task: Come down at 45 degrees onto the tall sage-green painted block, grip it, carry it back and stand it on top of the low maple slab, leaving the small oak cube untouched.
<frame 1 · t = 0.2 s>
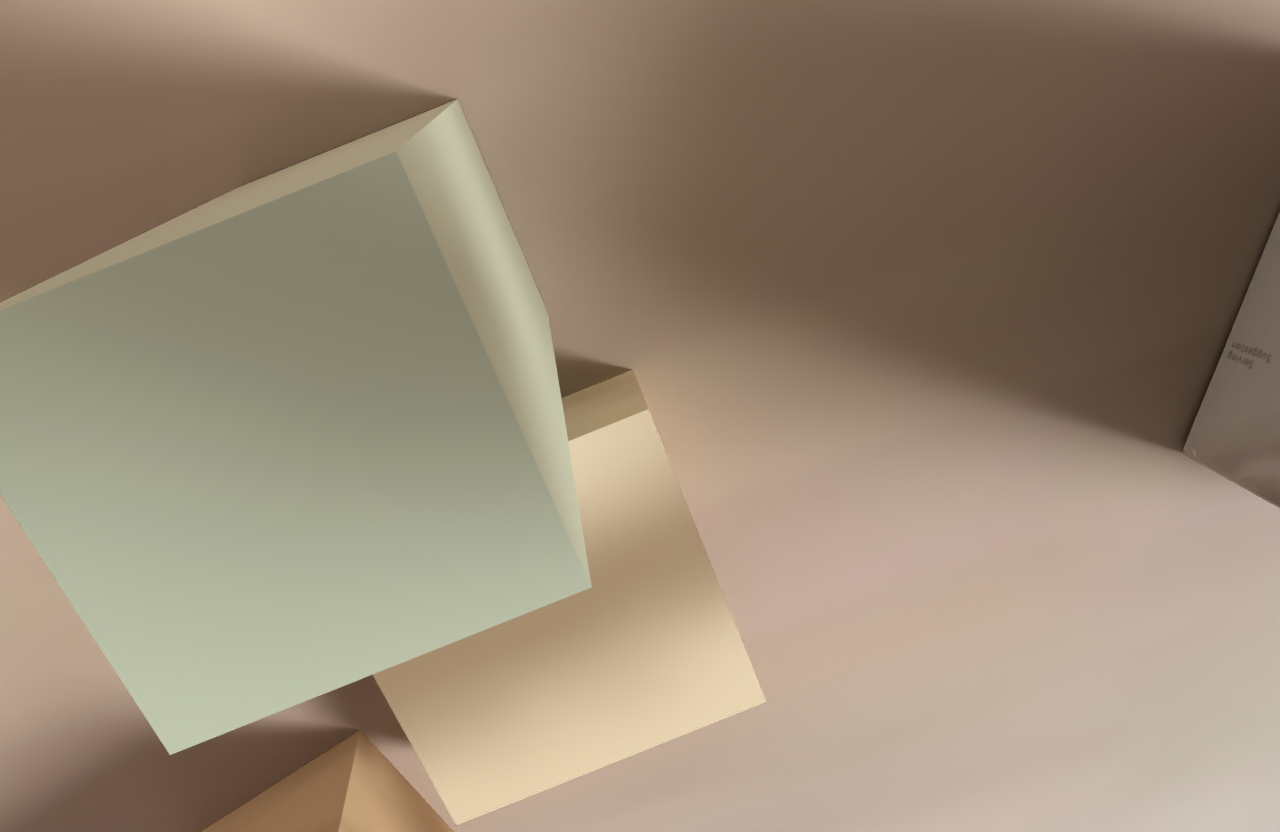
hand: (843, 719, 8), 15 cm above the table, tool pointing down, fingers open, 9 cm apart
maple slab: (542, 561, 24), on the table
sage block: (398, 252, 21), on the table
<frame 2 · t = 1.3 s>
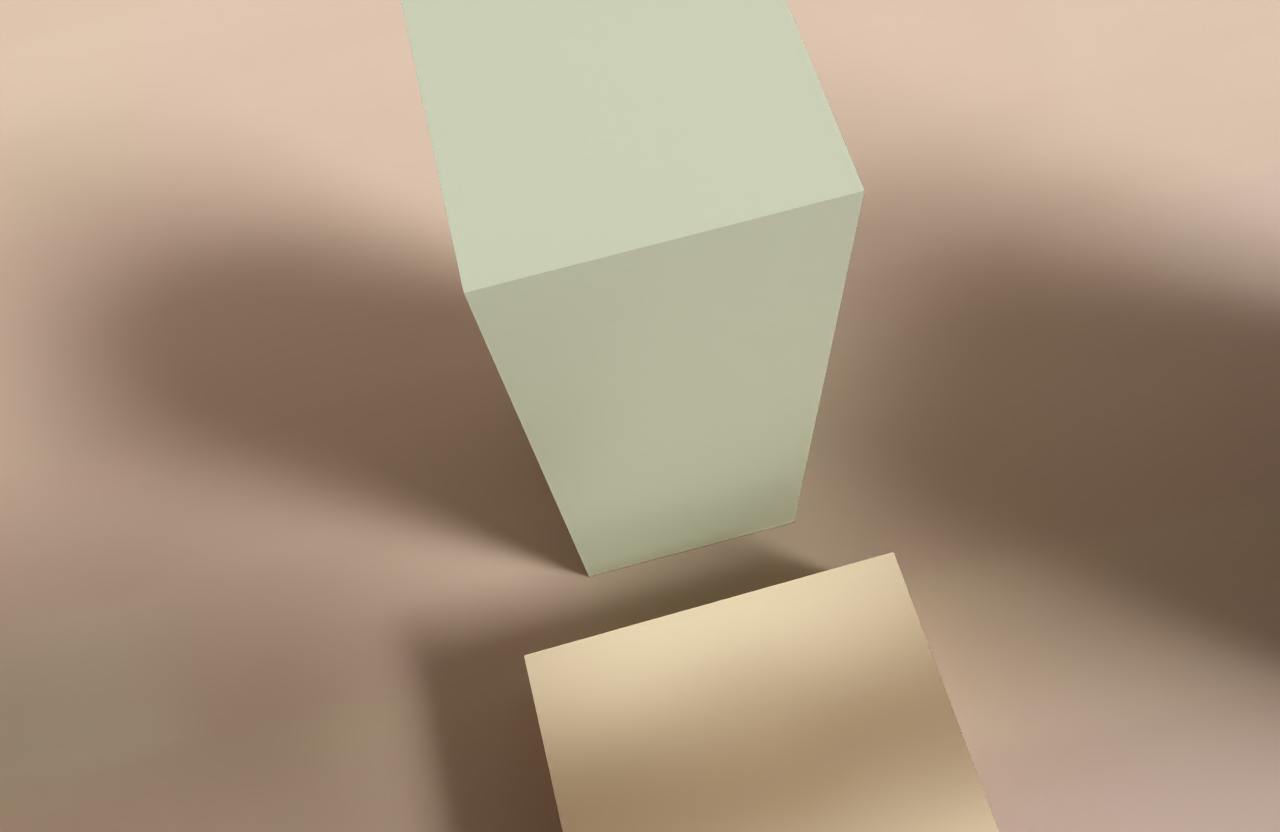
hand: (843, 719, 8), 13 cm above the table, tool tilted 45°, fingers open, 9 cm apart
maple slab: (762, 809, 21), on the table
sage block: (664, 453, 23), on the table
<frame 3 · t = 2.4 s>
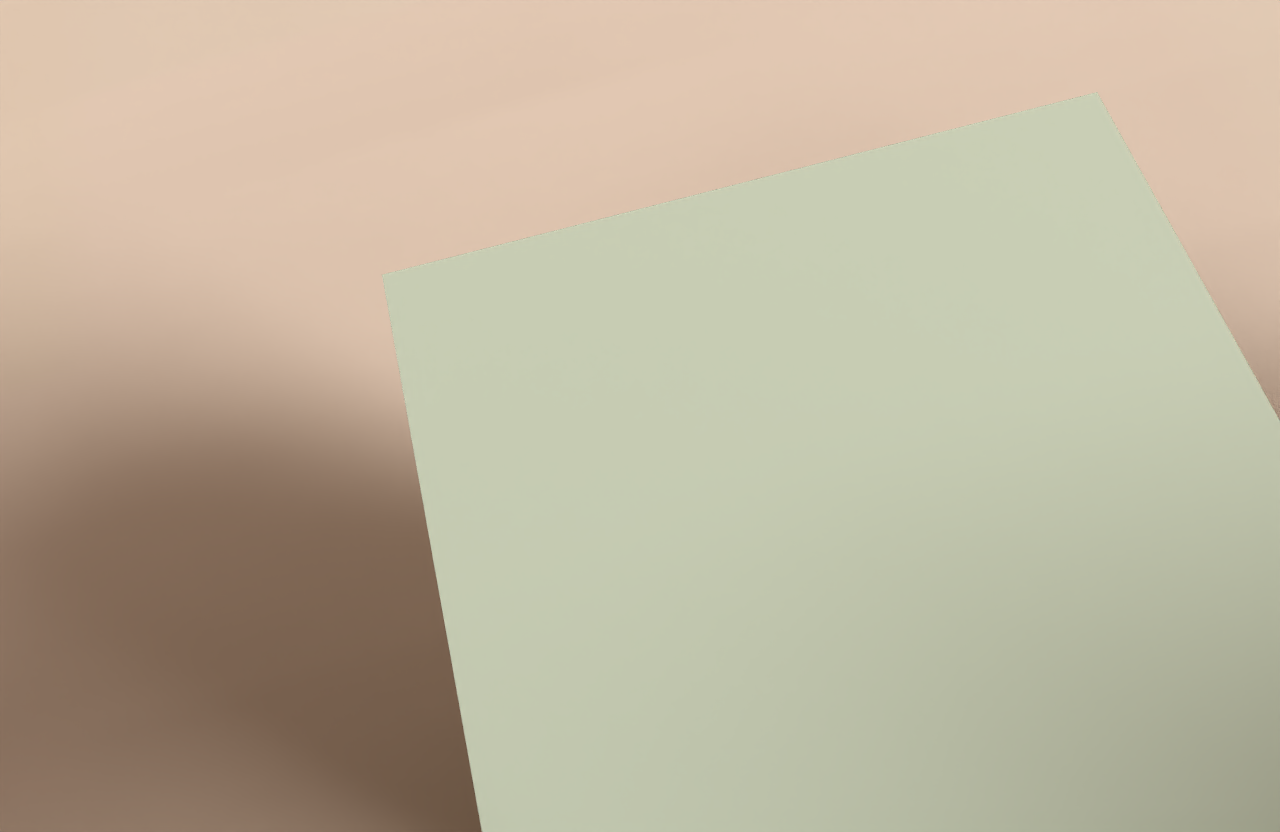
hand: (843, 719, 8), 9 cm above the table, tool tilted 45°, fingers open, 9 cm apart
sage block: (772, 764, 17), on the table
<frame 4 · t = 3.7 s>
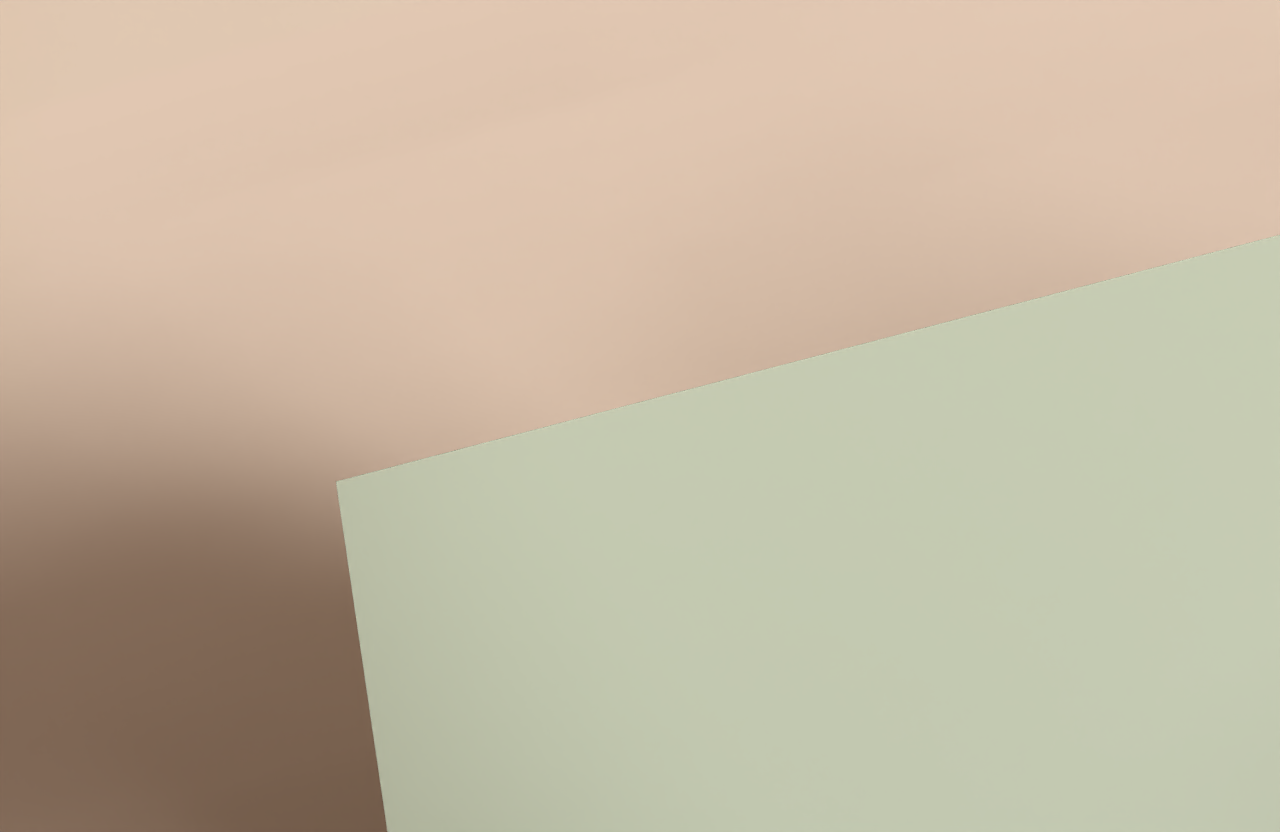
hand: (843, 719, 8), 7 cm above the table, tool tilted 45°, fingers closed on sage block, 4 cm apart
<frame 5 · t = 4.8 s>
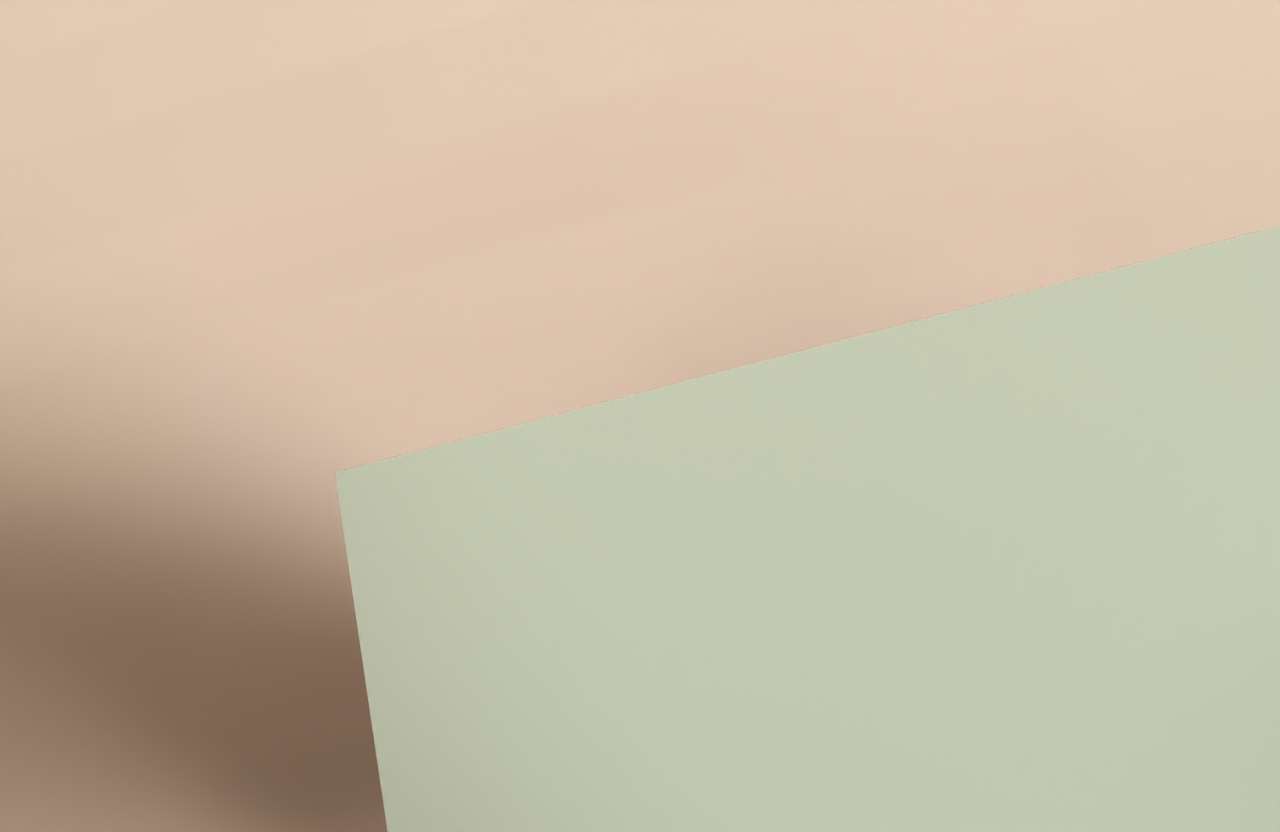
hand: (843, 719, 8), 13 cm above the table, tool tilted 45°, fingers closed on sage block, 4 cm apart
when the fingers open (11 cm above the table, at t = 6.2 s): sage block drops 1 cm, resting on maple slab.
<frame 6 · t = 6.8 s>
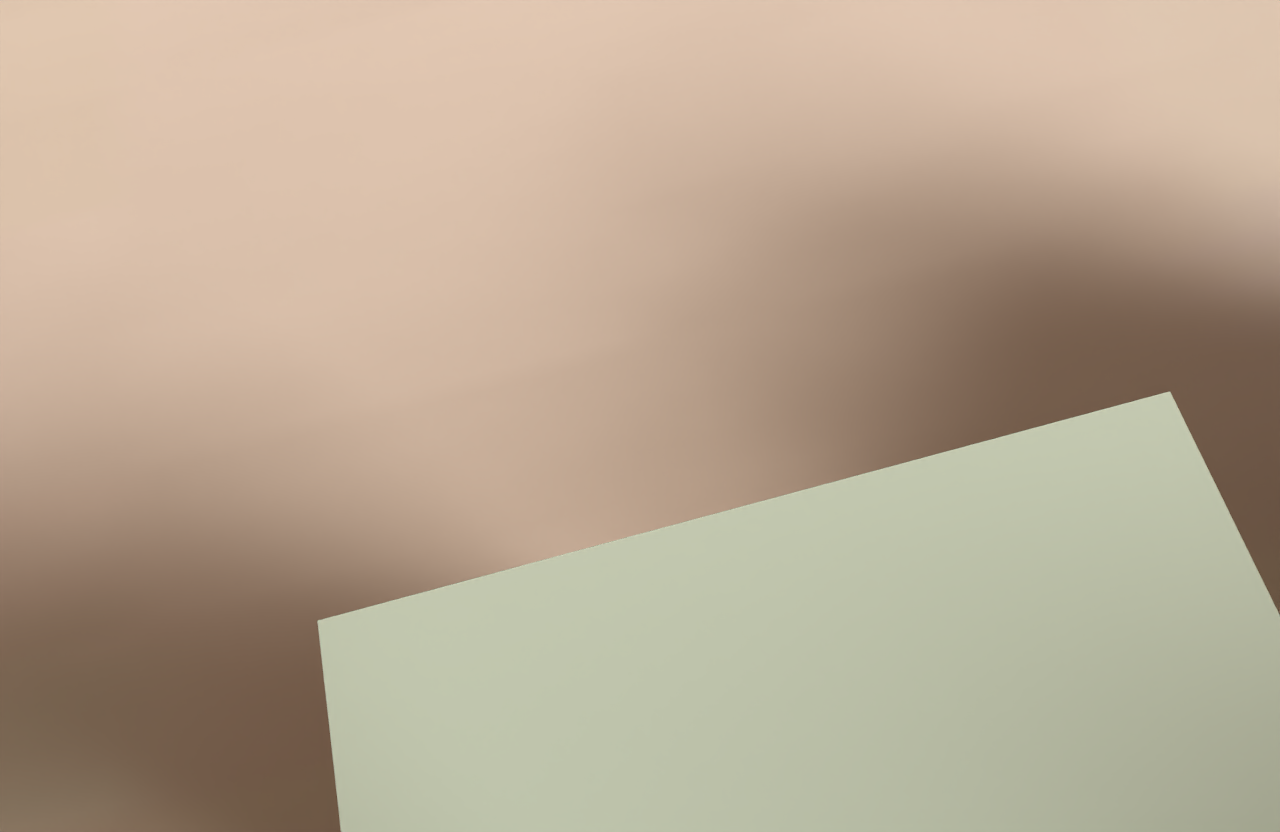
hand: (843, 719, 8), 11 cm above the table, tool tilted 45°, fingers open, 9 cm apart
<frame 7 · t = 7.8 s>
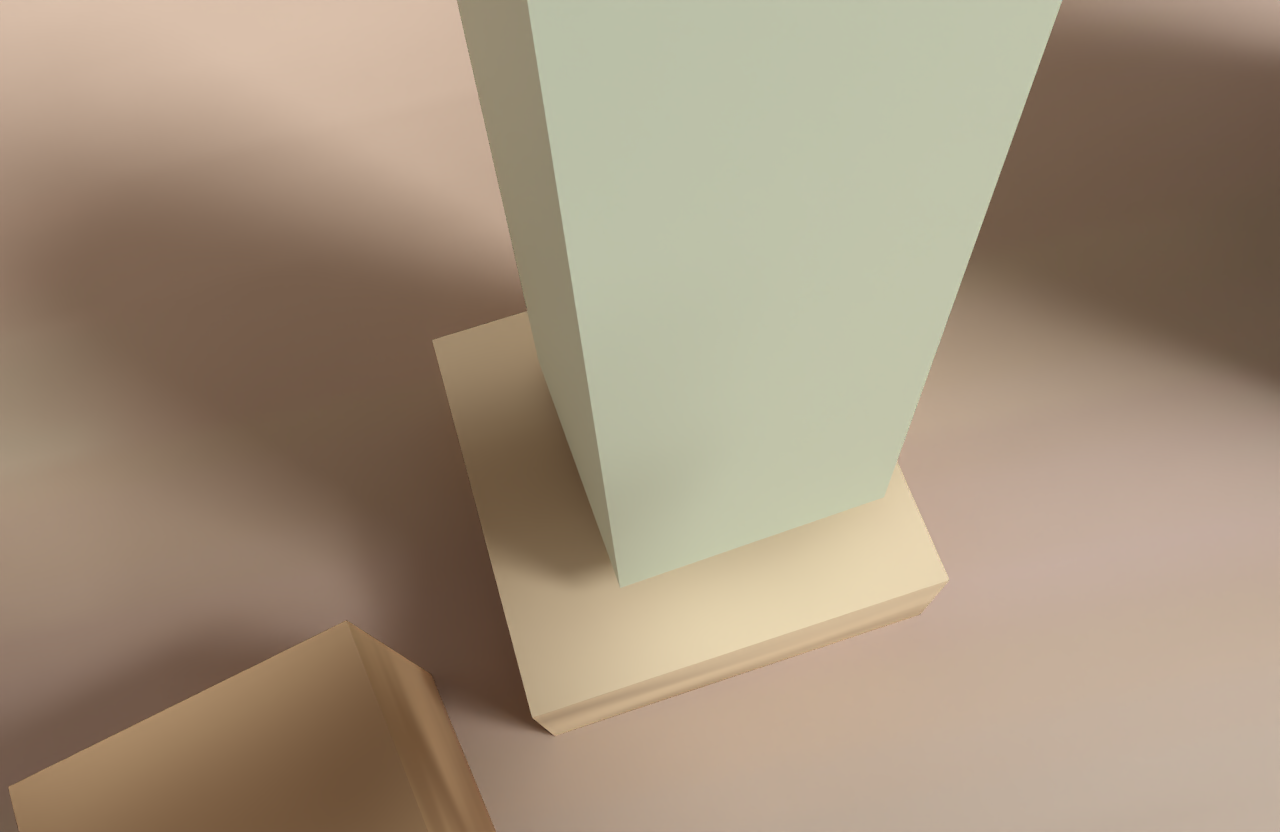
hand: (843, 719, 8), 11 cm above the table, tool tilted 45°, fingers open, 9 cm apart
maple slab: (679, 506, 21), on the table, touching sage block
sage block: (703, 426, 18), point 3 cm above the table, tilted 8°, touching maple slab
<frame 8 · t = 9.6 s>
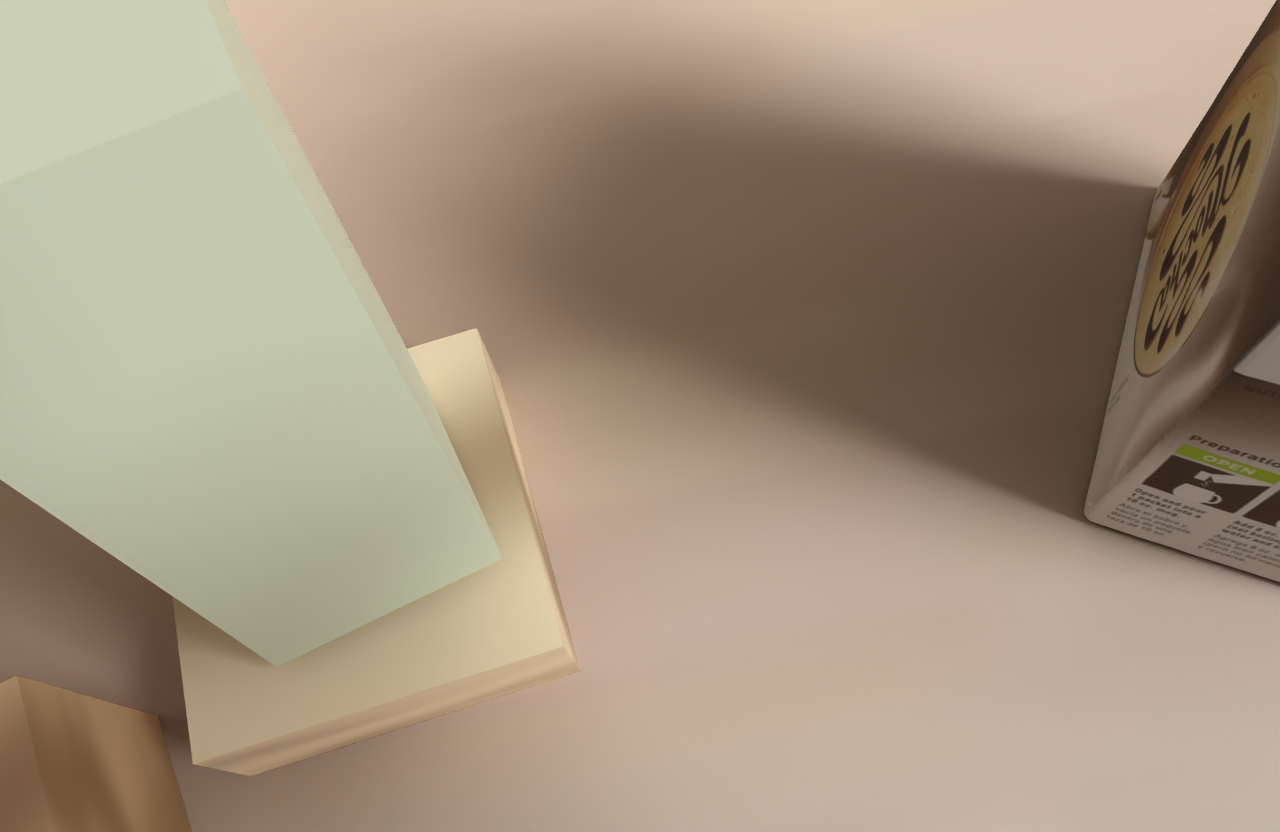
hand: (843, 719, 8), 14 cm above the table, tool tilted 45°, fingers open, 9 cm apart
maple slab: (388, 569, 24), on the table
coffee box: (1258, 384, 24), on the table
sage block: (353, 511, 21), point 3 cm above the table
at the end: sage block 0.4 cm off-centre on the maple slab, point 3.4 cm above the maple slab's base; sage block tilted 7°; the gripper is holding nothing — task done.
